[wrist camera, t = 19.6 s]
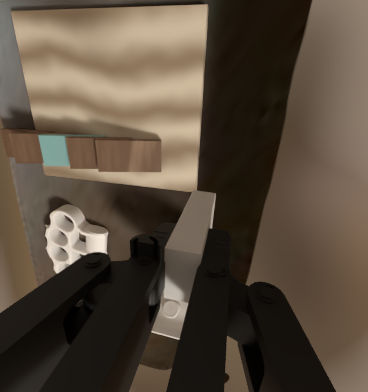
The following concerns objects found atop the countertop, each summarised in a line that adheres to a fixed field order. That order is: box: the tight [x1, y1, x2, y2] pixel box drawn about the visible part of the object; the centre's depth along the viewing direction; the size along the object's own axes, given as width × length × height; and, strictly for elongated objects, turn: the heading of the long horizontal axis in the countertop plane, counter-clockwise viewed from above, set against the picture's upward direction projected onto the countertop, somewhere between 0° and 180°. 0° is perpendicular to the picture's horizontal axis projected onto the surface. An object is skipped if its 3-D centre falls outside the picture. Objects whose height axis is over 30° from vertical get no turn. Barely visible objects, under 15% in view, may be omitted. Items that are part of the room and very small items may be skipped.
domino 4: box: [66, 136, 132, 169], centre depth 38 cm, size 2×5×10 cm
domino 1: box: [0, 128, 55, 157], centre depth 42 cm, size 2×5×10 cm
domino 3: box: [38, 134, 105, 166], centre depth 39 cm, size 2×5×10 cm
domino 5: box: [95, 138, 161, 172], centre depth 37 cm, size 2×5×10 cm
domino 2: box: [9, 132, 77, 163], centre depth 40 cm, size 2×5×10 cm
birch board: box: [11, 4, 208, 192], centre depth 38 cm, size 26×30×1 cm
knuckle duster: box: [45, 204, 108, 274], centre depth 50 cm, size 3×18×15 cm
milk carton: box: [151, 291, 188, 339], centre depth 37 cm, size 7×7×19 cm
